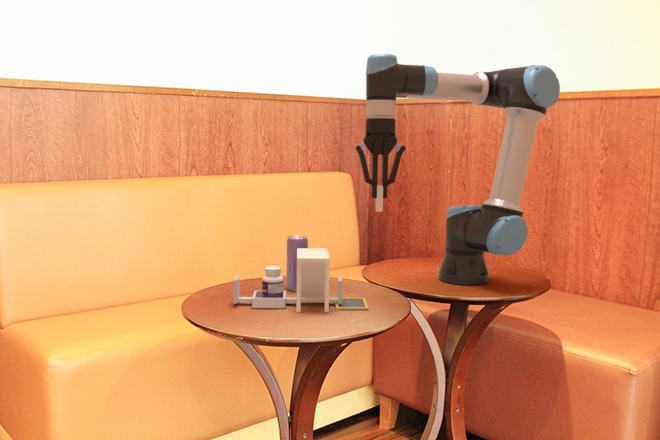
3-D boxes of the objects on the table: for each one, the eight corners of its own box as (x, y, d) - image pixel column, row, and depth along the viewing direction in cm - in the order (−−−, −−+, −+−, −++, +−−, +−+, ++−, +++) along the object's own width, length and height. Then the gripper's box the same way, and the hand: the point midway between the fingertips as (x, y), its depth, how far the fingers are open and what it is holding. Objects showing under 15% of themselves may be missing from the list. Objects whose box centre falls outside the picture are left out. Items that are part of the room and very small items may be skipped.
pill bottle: (261, 302, 167) (261, 265, 166) (282, 301, 168) (282, 265, 167) (262, 307, 162) (262, 270, 161) (284, 307, 163) (284, 269, 161)
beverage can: (304, 292, 179) (305, 238, 177) (284, 290, 180) (284, 237, 178) (309, 287, 184) (310, 235, 182) (289, 286, 186) (290, 234, 184)
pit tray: (364, 300, 171) (364, 297, 171) (368, 310, 161) (368, 307, 161) (334, 299, 171) (334, 297, 171) (336, 310, 161) (336, 307, 161)
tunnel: (326, 298, 173) (327, 248, 171) (328, 312, 159) (329, 258, 157) (296, 297, 172) (297, 248, 170) (296, 312, 158) (296, 258, 157)
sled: (340, 300, 170) (341, 275, 169) (342, 308, 162) (343, 282, 161) (235, 299, 169) (235, 274, 168) (232, 307, 160) (232, 281, 160)
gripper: (403, 118, 165) (401, 209, 168) (353, 117, 165) (352, 209, 168) (409, 117, 158) (406, 212, 161) (356, 117, 157) (355, 212, 160)
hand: (379, 211), depth 164 cm, fingers closed
